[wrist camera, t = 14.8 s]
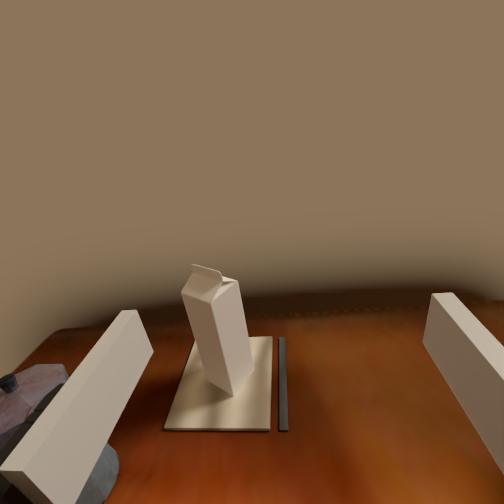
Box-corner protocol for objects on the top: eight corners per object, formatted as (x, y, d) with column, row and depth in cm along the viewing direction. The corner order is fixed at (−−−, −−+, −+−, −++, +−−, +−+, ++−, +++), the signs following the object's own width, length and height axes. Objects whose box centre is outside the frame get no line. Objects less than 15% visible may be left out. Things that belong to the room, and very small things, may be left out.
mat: (285, 338, 55) (285, 335, 55) (288, 431, 39) (287, 428, 39) (196, 341, 58) (195, 339, 57) (164, 429, 42) (163, 427, 42)
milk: (229, 357, 52) (205, 254, 42) (255, 370, 49) (235, 261, 39) (206, 381, 48) (174, 273, 38) (233, 398, 44) (205, 283, 35)
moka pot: (84, 428, 44) (20, 333, 35) (157, 469, 37) (101, 365, 28) (19, 498, 36) (-84, 400, 27) (96, 565, 30) (-7, 464, 21)
